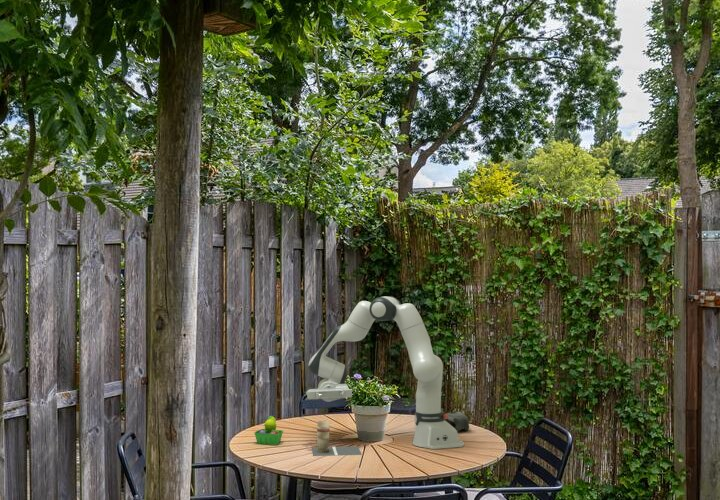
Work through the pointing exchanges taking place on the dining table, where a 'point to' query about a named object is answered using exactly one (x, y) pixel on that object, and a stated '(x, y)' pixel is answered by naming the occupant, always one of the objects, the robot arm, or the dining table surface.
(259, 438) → the fruit basket
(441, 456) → the dining table surface
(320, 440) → the skittle
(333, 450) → the lane mat
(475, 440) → the dining table surface
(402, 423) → the dining table surface
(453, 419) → the rock
